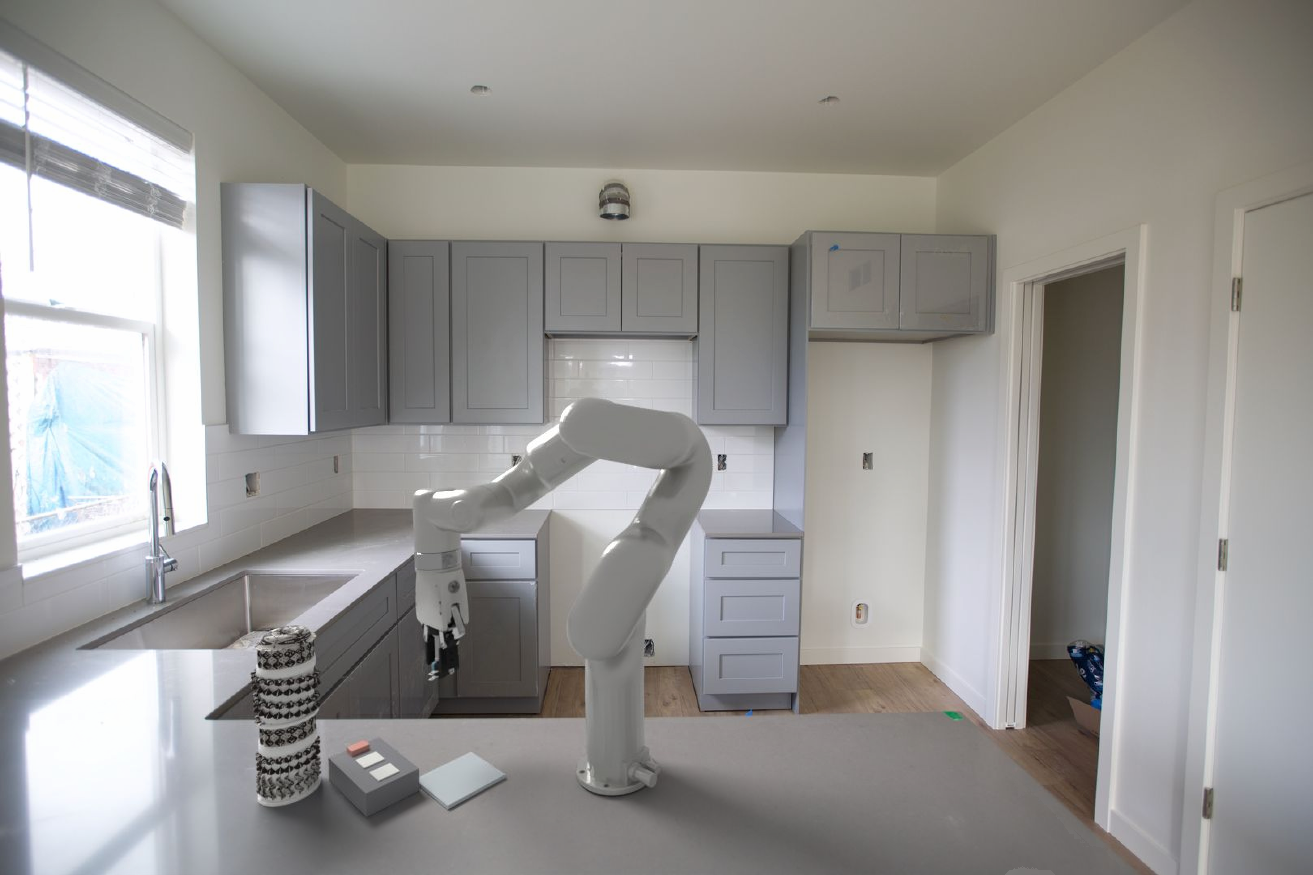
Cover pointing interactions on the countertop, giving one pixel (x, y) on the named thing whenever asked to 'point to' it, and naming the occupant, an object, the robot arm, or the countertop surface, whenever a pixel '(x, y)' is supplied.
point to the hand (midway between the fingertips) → (442, 664)
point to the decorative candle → (286, 716)
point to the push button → (435, 665)
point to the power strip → (373, 775)
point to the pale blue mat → (459, 779)
